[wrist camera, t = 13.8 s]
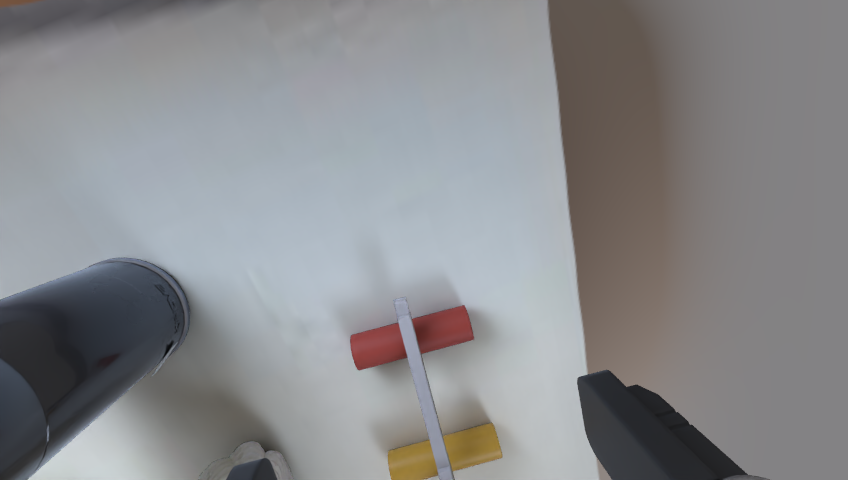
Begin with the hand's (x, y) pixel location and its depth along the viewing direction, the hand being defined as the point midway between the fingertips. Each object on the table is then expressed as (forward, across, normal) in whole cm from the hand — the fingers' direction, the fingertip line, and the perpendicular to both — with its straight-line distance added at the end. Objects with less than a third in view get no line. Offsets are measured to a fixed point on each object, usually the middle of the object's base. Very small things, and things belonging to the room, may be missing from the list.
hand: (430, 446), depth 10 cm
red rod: (+24, +1, +8) cm, 26 cm away
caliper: (+22, +1, +14) cm, 26 cm away
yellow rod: (+24, +1, +20) cm, 32 cm away
